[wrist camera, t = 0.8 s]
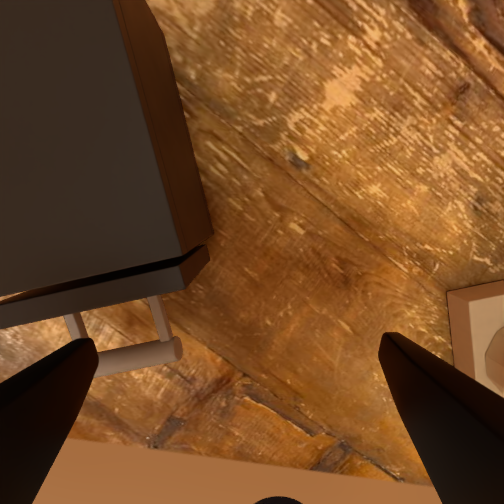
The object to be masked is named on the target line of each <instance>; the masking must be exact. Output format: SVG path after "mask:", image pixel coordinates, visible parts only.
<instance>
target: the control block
mask: <svg viewBox="0 0 504 504" xmlns="http://www.w3.org/2000/svg"><path fill="white" fill-rule="evenodd" d="M447 300H448V309H449V319H450V328H451V338H452V347H453V356H454V366H455V368H457V369H458V370H460V371H461V372H463V373H465V374H466V375H468V376H469V377H471V378H473V379H474V380H476V381H478V382H479V383H481V384H482V385H484V386H486V387H487V388H489V389H490V390H492V391H494V392H495V393H497V394H499V395H500V396H502V397H503V398H504V280H502V281H497V282H492V283H487V284H482V285H478V286H473V287H468V288H463V289H458V290H453V291H448V292H447Z"/></svg>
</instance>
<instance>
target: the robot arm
mask: <svg viewBox="0 0 504 504" xmlns="http://www.w3.org/2000/svg"><path fill="white" fill-rule="evenodd" d="M378 358H379V361H380V364H381V367H382V370H383V372H384V375H385V378H386V381H387V383H388V386H389V389H390V391H391V394H392V397H393V400H394V402H395V405H396V407H397V410H398V412H399V414H400V416H401V419H402V421H403V423H404V425H405V427H406V429H407V431H408V433H409V435H410V437H411V439H412V441H413V444H414V446H415V448H416V450H417V452H418V454H419V456H420V458H421V460H422V462H423V464H424V466H425V468H426V471H427V473H428V475H429V477H430V479H431V481H432V483H433V485H434V487H435V489H436V491H437V493H438V495H439V497H440V499H441V502H442V504H504V398H503V397H502V396H500V395H499V394H497V393H495V392H494V391H492V390H490V389H489V388H487V387H486V386H484V385H482V384H481V383H479V382H478V381H476V380H474V379H473V378H471V377H469V376H468V375H466V374H465V373H463V372H461V371H460V370H458V369H457V368H455V367H453V366H452V365H450V364H448V363H447V362H445V361H444V360H442V359H440V358H439V357H437V356H436V355H434V354H432V353H431V352H429V351H427V350H426V349H424V348H423V347H421V346H419V345H418V344H416V343H415V342H413V341H411V340H410V339H408V338H406V337H405V336H403V335H402V334H400V333H398V332H385V333H383V335H382V338H381V342H380V347H379V351H378ZM98 365H99V356H98V353H97V350H96V347H95V344H94V341H93V340H92V339H91V338H77V339H75V340H73V341H71V342H70V343H68V344H66V345H65V346H63V347H61V348H60V349H58V350H56V351H54V352H53V353H51V354H49V355H48V356H46V357H44V358H43V359H41V360H39V361H37V362H36V363H34V364H32V365H31V366H29V367H27V368H26V369H24V370H22V371H20V372H19V373H17V374H15V375H14V376H12V377H10V378H9V379H7V380H5V381H3V382H2V383H0V504H32V503H33V501H34V499H35V497H36V495H37V493H38V491H39V489H40V487H41V486H42V484H43V482H44V480H45V478H46V476H47V474H48V472H49V470H50V468H51V466H52V465H53V463H54V461H55V459H56V457H57V455H58V453H59V451H60V449H61V447H62V445H63V443H64V441H65V440H66V438H67V436H68V434H69V432H70V430H71V428H72V426H73V424H74V422H75V420H76V418H77V416H78V414H79V412H80V409H81V407H82V405H83V402H84V400H85V397H86V395H87V392H88V390H89V387H90V385H91V382H92V380H93V378H94V375H95V373H96V370H97V368H98Z"/></svg>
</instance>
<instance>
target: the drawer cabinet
mask: <svg viewBox="0 0 504 504" xmlns="http://www.w3.org/2000/svg"><path fill="white" fill-rule="evenodd" d="M213 234H214V230H213V226H212V222H211V218H210V214H209V210H208V207H207V203H206V199H205V195H204V191H203V187H202V183H201V179H200V175H199V171H198V167H197V163H196V159H195V155H194V151H193V147H192V143H191V140H190V136H189V132H188V128H187V124H186V120H185V116H184V112H183V108H182V104H181V100H180V96H179V92H178V88H177V84H176V80H175V76H174V73H173V69H172V65H171V61H170V57H169V53H168V49H167V45H166V41H165V37H164V34H163V32H162V30H161V28H160V27H159V25H158V23H157V21H156V19H155V17H154V15H153V14H152V12H151V10H150V8H149V6H148V4H147V3H146V1H145V0H0V297H1V296H6V295H10V294H14V293H19V292H23V291H28V290H32V289H37V288H41V287H46V286H50V285H55V284H59V283H63V282H68V281H72V280H77V279H81V278H86V277H90V276H95V275H99V274H103V273H108V272H112V271H117V270H121V269H126V268H130V267H135V266H139V265H144V264H148V263H152V262H157V261H161V260H166V259H170V258H175V257H179V256H183V255H184V254H186V253H187V252H188V251H190V250H191V249H193V248H194V247H196V246H197V245H198V244H200V243H201V242H203V241H204V240H206V239H207V238H209V237H210V236H212V235H213Z"/></svg>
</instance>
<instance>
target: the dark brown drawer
mask: <svg viewBox="0 0 504 504" xmlns="http://www.w3.org/2000/svg"><path fill="white" fill-rule="evenodd" d="M209 261H210V257H209V253H208V249H207V245H206V244H204V245H200V246H196V247H194V248H193V249H191V250H190V251H188V252H187V253H186V254H184V255H183V256H179V257H175V258H170V259H166V260H161V261H157V262H152V263H148V264H144V265H139V266H135V267H130V268H126V269H121V270H117V271H112V272H108V273H103V274H99V275H95V276H90V277H86V278H81V279H77V280H72V281H68V282H63V283H59V284H55V285H50V286H46V287H41V288H37V289H32V290H28V291H26V292H23V293H20V294H18V295H15V296H13V297H10V298H7V299H5V300H2V301H0V329H4V328H9V327H14V326H18V325H23V324H27V323H32V322H37V321H41V320H46V319H50V318H55V317H60V316H64V319H65V322H66V324H67V327H68V330H69V332H70V335H71V338H72V340H75V339H77V338H89V337H88V334H87V331H86V328H85V325H84V323H83V320H82V317H81V314H80V312H83V311H87V310H92V309H96V308H101V307H106V306H110V305H115V304H120V303H124V302H129V301H133V300H138V299H143V298H147V299H148V303H149V306H150V309H151V312H152V316H153V319H154V322H155V325H156V328H157V332H158V335H159V338H160V340H155V341H150V342H145V343H140V344H135V345H131V346H126V347H121V348H116V349H111V350H107V351H102V352H97V353H98V356H99V365H98V368H97V370H96V373H95V375H94V378H96V377H101V376H106V375H111V374H116V373H121V372H126V371H131V370H136V369H141V368H146V367H151V366H156V365H161V364H166V363H171V362H175V361H179V360H181V358H182V353H183V348H182V343H181V340H180V338H179V337H178V336H174V337H172V336H173V334H172V330H171V327H170V324H169V320H168V317H167V314H166V310H165V307H164V304H163V300H162V297H161V294H166V293H170V292H175V291H179V290H184V289H186V288H187V287H188V285H189V284H190V283H191V282H192V281H193V280H194V278H195V277H196V276H197V275H198V274H199V272H200V271H201V270H202V269H203V268H204V266H205V265H206V264H207V263H208V262H209Z"/></svg>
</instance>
